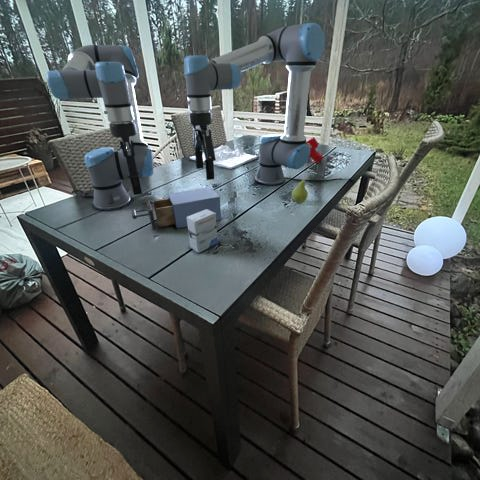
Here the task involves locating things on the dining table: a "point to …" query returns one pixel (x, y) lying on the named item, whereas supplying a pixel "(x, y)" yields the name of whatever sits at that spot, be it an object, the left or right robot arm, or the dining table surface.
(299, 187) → the fruit
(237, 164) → the relief map
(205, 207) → the cabinet
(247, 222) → the dining table surface
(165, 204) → the drawer
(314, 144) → the toy gun
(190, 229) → the ink box
